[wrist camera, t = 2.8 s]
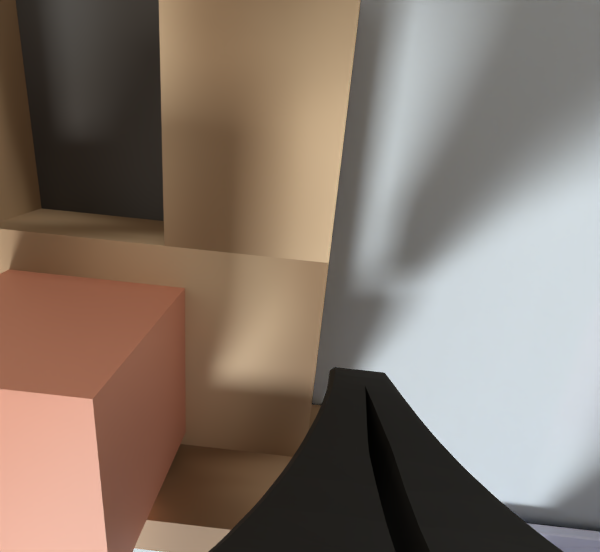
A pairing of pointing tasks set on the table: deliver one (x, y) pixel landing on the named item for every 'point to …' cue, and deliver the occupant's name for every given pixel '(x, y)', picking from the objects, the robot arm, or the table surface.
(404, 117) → the table surface
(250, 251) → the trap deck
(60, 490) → the clay-red block
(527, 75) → the table surface
